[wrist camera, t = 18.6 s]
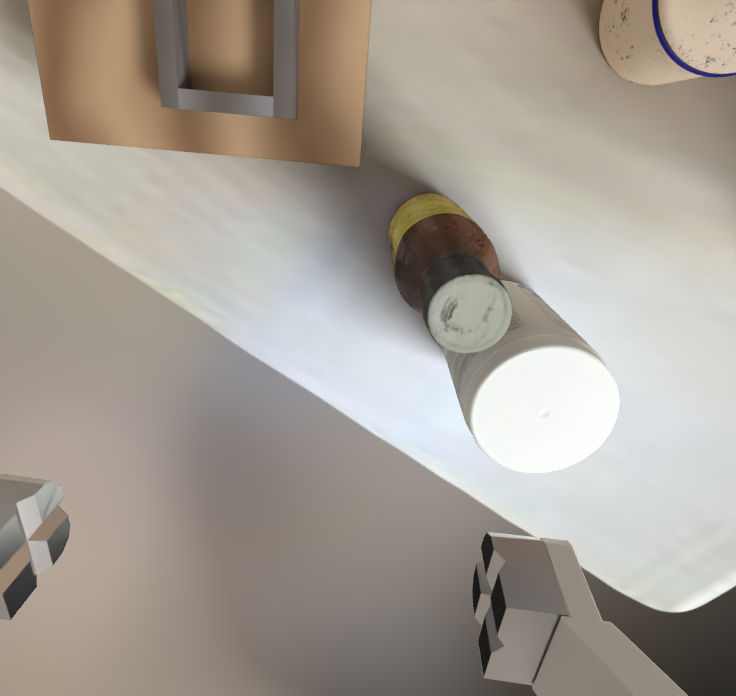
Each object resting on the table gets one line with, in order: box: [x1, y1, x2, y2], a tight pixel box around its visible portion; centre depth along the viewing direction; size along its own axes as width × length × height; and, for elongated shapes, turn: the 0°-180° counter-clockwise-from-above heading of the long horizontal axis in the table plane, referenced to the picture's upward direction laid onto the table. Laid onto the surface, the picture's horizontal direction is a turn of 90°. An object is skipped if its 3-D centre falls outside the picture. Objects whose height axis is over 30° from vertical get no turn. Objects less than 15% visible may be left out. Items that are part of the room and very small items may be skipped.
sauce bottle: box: [389, 193, 513, 354], centre depth 31 cm, size 6×6×20 cm
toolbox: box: [27, 0, 372, 167], centre depth 31 cm, size 19×12×12 cm, turn 85°
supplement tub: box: [443, 280, 619, 473], centre depth 37 cm, size 10×10×15 cm
